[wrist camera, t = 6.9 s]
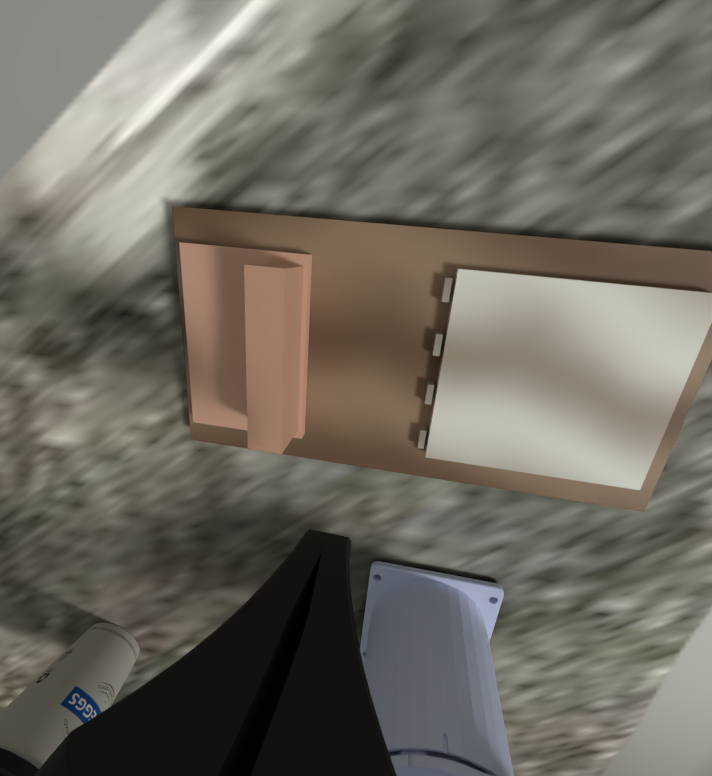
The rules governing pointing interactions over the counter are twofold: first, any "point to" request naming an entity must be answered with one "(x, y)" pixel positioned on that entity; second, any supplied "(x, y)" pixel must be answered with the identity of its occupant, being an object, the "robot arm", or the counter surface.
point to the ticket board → (486, 352)
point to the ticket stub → (248, 340)
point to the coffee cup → (65, 697)
